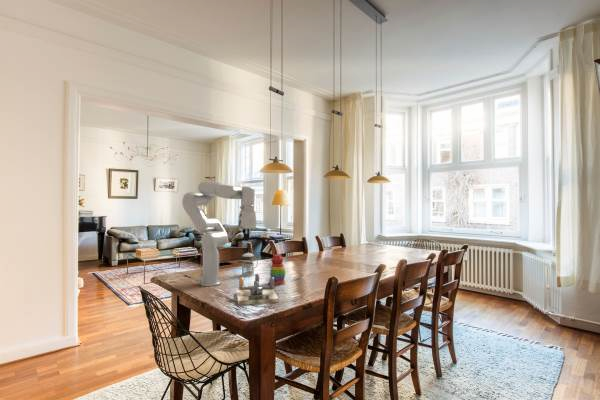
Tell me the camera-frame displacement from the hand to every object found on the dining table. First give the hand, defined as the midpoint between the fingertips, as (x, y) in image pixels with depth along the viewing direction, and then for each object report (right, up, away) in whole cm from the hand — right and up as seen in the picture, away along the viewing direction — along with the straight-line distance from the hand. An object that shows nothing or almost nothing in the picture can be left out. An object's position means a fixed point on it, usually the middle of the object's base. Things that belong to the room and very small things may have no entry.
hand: (246, 240), depth 182 cm
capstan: (+8, -26, -14) cm, 31 cm away
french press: (-4, -29, +37) cm, 47 cm away
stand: (+8, -28, -14) cm, 32 cm away
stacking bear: (+16, -29, +17) cm, 37 cm away
